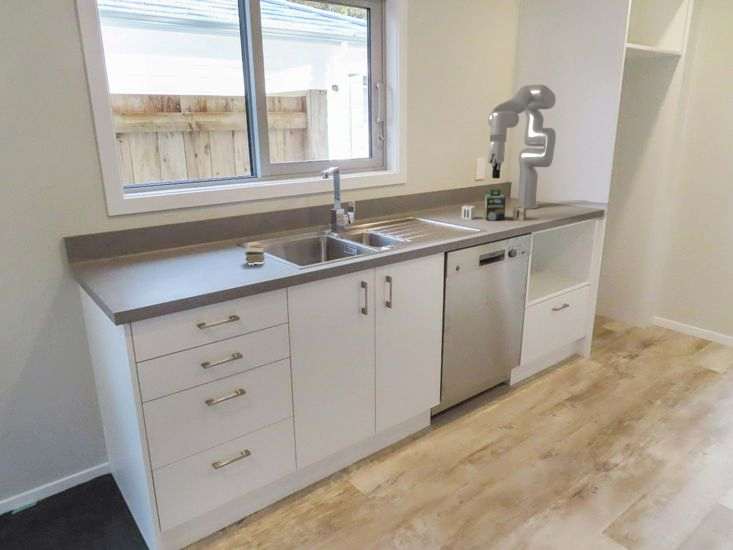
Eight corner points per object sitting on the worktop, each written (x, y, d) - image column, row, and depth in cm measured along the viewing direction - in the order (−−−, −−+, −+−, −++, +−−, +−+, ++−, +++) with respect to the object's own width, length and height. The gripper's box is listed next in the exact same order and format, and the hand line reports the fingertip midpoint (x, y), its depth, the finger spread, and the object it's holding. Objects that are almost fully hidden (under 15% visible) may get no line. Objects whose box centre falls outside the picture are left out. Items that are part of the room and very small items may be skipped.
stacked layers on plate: (271, 261, 190) (270, 246, 188) (267, 267, 181) (265, 252, 179) (243, 261, 189) (242, 247, 188) (238, 268, 181) (237, 253, 179)
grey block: (465, 217, 263) (465, 205, 261) (474, 218, 260) (475, 206, 258) (461, 218, 259) (461, 206, 257) (470, 219, 256) (471, 207, 254)
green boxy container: (502, 217, 260) (503, 187, 256) (505, 220, 252) (506, 190, 247) (483, 217, 261) (484, 187, 257) (485, 220, 252) (487, 190, 248)
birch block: (515, 218, 258) (516, 205, 256) (525, 218, 255) (526, 206, 254) (512, 219, 254) (513, 207, 252) (522, 220, 251) (523, 208, 249)
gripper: (495, 138, 253) (493, 176, 258) (484, 139, 241) (482, 179, 246) (510, 138, 249) (508, 177, 254) (500, 139, 237) (498, 180, 242)
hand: (495, 178), depth 250 cm, fingers closed
